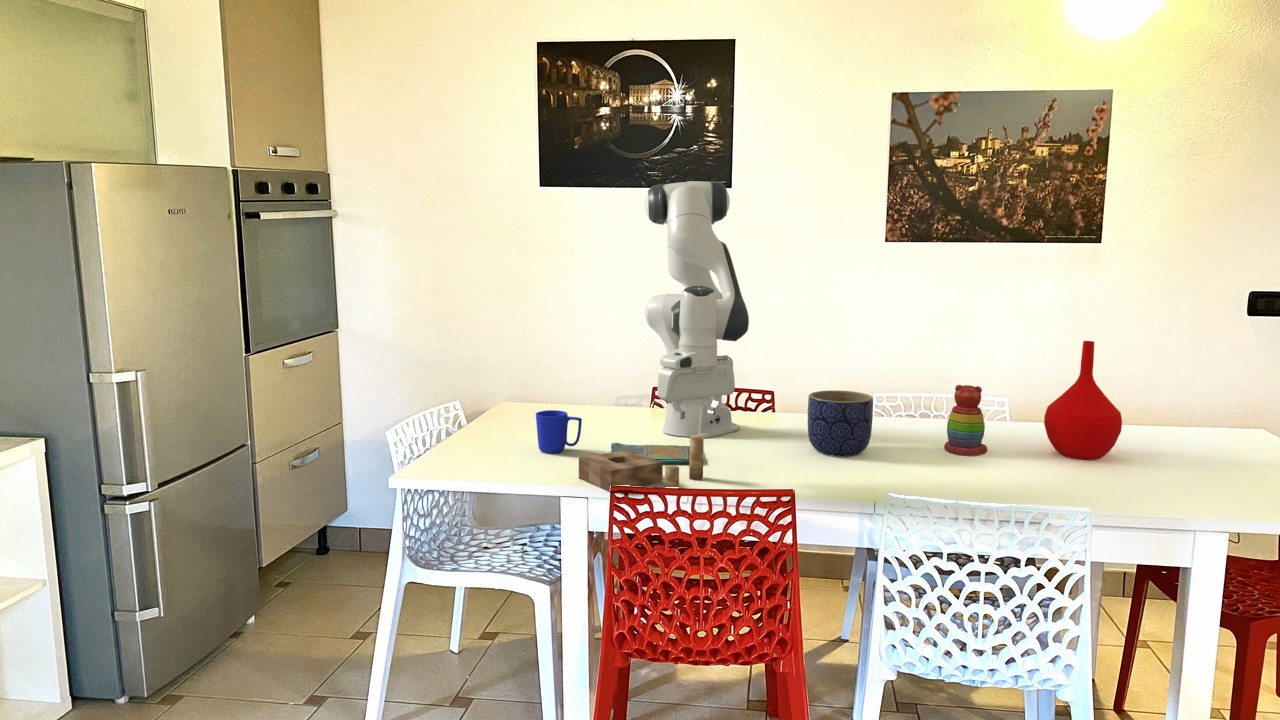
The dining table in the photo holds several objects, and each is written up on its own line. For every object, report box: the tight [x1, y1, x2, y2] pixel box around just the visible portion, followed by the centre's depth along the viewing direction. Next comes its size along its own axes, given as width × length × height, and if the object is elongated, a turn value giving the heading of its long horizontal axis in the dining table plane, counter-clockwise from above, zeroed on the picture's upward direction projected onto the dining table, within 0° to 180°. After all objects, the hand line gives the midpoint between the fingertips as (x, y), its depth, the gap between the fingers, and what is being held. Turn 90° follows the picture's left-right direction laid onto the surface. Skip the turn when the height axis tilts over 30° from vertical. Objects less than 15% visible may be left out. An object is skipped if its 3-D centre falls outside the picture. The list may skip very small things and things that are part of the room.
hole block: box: [578, 450, 664, 492], centre depth 225 cm, size 14×14×5 cm
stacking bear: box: [943, 384, 988, 457], centre depth 254 cm, size 11×10×18 cm
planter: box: [807, 389, 874, 457], centre depth 253 cm, size 16×16×15 cm
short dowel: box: [664, 465, 680, 488], centre depth 219 cm, size 3×3×5 cm
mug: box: [535, 409, 583, 454], centre depth 252 cm, size 8×12×10 cm
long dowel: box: [688, 435, 705, 481], centre depth 227 cm, size 3×3×10 cm
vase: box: [1043, 340, 1123, 461], centre depth 250 cm, size 18×18×30 cm
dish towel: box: [610, 442, 704, 466], centre depth 248 cm, size 17×23×2 cm
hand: (696, 416), depth 225 cm, fingers open, 8 cm apart
